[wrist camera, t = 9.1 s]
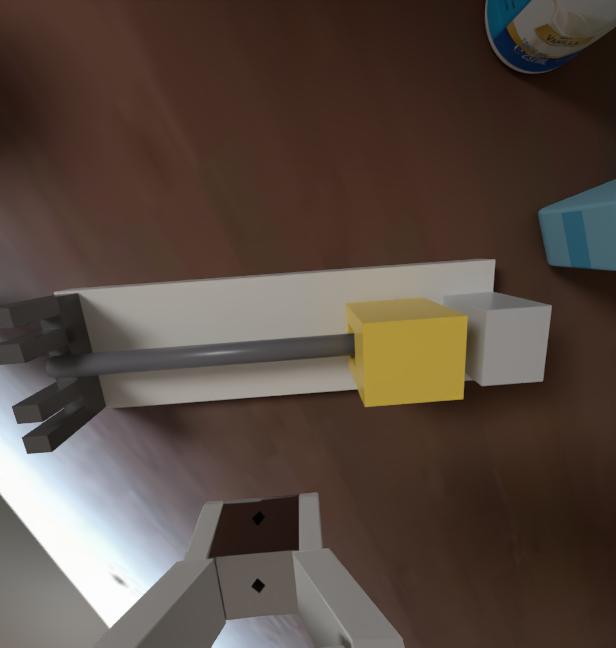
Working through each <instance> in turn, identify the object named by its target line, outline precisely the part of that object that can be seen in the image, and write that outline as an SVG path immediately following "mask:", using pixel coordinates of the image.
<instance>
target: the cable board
mask: <svg viewBox="0 0 616 648" xmlns="http://www.w3.org/2000/svg"><path fill="white" fill-rule="evenodd" d="M494 272H495V260H493V259H470V260H456V261H442V262H429V263H415V264H401V265H388V266H374V267H360V268H347V269H333V270H320V271H306V272H292V273H279V274H265V275H251V276H238V277H224V278H210V279H197V280H183V281H169V282H156V283H142V284H129V285H115V286H101V287H88V288H74V289H67V290H62V291H57V292H54V295H52V296H47V297H42V298H37V299H32V300H27V301H22V302H17V303H12V304H7V305H2V306H0V329H5V328H15V327H19V326H22V325H26V324H29V323H33V322H36V321H40V324H41V327H42V330H40V331H36V332H33V333H30V334H27V335H24V336H21V337H18V338H15V339H12V340H9V341H6V342H3V343H0V365H3V364H16V363H26V362H28V361H30V360H33V359H35V358H37V357H40V356H42V355H44V354H47V353H49V356H50V358H49V359H48V360H47V362H46V366H45V369H46V373H47V375H48V376H49V377H50V378H56V380H57V382H55V383H53V384H51V385H50V386H48V387H46V388H44V389H43V390H41V391H39V392H37V393H35V394H34V395H32V396H30V397H28V398H26V399H25V400H23V401H21V402H19V403H18V404H16V405H14V406H12V409H13V412H14V415H15V418H16V421H17V424H21V423H34V422H43V421H45V420H46V419H48V418H49V417H50V416H52V415H53V414H55V413H56V412H58V411H59V410H61V409H62V408H64V409H63V410H61V411H60V412H58V413H57V414H55V415H54V416H52V417H51V418H50V419H48V420H47V421H45V422H44V423H42V424H41V425H39V426H38V427H37V428H35V429H34V430H32V431H31V432H29V433H28V434H26V435H25V436H24V437H22V439H23V442H24V445H25V448H26V451H27V454H31V453H44V452H52V451H54V450H55V449H56V448H57V447H58V446H60V445H61V444H62V443H63V442H64V441H66V440H67V439H68V438H69V437H70V436H72V435H73V434H74V433H75V432H76V431H78V430H79V429H80V428H81V427H82V426H84V425H85V424H86V423H87V422H88V421H90V420H91V419H92V418H93V417H94V416H95V415H97V414H98V413H99V412H100V411H101V410H103V409H110V408H123V407H136V406H149V405H161V404H174V403H187V402H200V401H213V400H226V399H239V398H252V397H264V396H277V395H290V394H303V393H316V392H329V391H342V390H354V389H357V386H356V384H355V382H354V379H353V377H352V374H351V372H350V370H349V367H348V356H354V355H355V340H354V333H348V334H347V325H346V303H354V302H367V301H380V300H394V299H407V298H421V297H424V298H426V299H429V300H431V301H433V302H436V303H438V304H441V305H443V306H446V307H448V308H450V309H453V310H455V311H458V312H460V313H463V314H465V315H468V322H467V341H466V360H465V379H464V381H470V380H474V381H476V382H477V383H478V384H480V385H481V386H490V385H502V384H515V383H528V382H541V381H543V377H544V368H545V360H546V351H547V343H548V334H549V326H550V317H551V309H552V305H548V304H543V303H539V302H535V301H531V300H526V299H522V298H518V297H513V296H509V295H505V294H501V293H496V292H493V286H494Z"/></svg>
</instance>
